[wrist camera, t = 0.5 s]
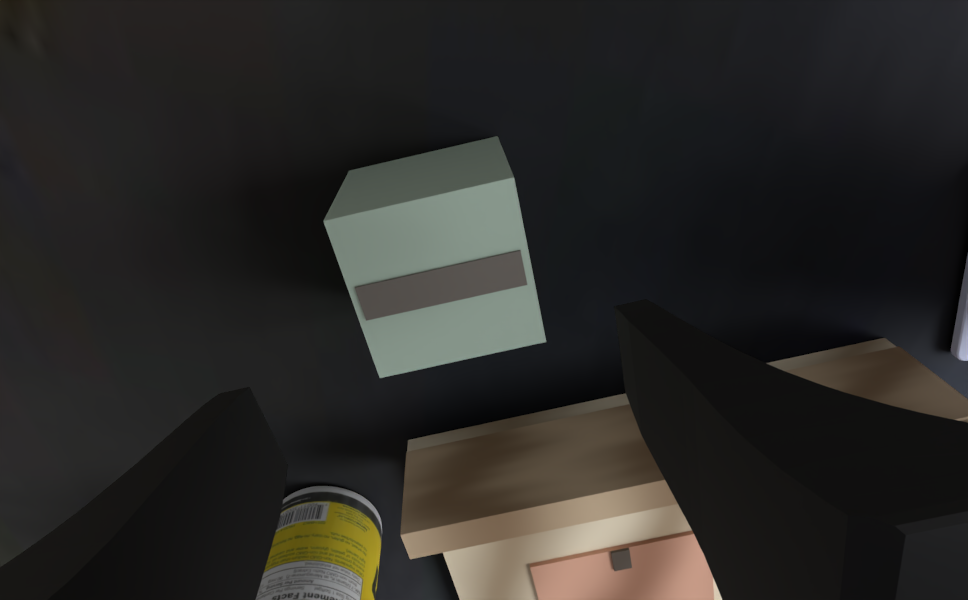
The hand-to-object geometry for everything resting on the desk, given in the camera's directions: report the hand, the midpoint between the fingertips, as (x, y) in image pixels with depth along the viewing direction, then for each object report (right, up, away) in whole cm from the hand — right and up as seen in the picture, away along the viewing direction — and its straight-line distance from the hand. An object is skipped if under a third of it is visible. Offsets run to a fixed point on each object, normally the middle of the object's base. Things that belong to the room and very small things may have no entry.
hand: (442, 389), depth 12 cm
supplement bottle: (-6, -8, +14) cm, 17 cm away
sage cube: (-1, +4, +8) cm, 9 cm away
